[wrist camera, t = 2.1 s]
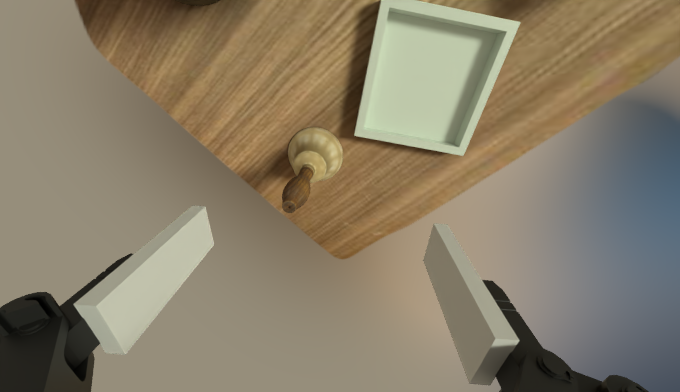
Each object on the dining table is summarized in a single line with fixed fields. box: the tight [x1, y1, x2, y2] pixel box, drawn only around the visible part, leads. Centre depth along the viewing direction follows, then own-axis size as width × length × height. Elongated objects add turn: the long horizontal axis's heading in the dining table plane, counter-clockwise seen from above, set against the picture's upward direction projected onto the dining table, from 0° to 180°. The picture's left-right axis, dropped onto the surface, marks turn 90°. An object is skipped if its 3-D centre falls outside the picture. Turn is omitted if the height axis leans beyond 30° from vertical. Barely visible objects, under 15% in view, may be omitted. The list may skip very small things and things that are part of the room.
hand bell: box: [282, 127, 343, 213], centre depth 29 cm, size 8×8×16 cm
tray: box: [354, 0, 520, 156], centre depth 30 cm, size 15×15×2 cm
